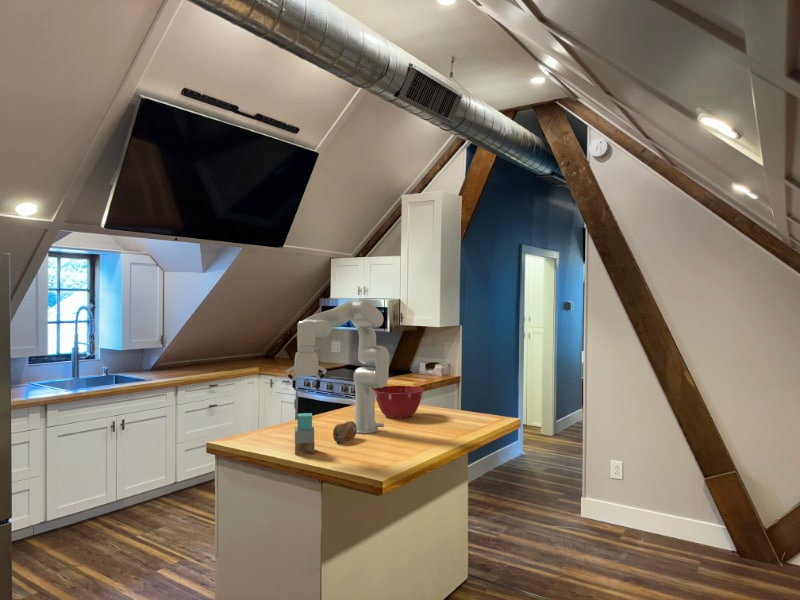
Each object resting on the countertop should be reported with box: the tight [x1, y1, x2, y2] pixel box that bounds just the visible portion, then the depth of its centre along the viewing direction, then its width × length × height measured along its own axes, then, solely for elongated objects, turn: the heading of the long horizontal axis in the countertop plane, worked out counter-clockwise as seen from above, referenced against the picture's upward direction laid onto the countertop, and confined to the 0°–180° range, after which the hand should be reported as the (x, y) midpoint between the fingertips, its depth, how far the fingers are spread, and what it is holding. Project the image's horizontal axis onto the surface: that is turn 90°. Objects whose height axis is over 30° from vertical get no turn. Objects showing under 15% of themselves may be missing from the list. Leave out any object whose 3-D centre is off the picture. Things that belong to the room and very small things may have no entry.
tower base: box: [294, 441, 316, 456], centre depth 240 cm, size 8×8×5 cm
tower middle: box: [294, 426, 315, 444], centre depth 240 cm, size 8×8×5 cm
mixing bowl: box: [373, 385, 424, 419], centre depth 317 cm, size 28×28×16 cm
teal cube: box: [297, 412, 313, 431], centre depth 240 cm, size 6×6×6 cm
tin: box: [332, 421, 357, 444], centre depth 261 cm, size 15×3×8 cm, turn 148°
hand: (306, 389), depth 242 cm, fingers open, 9 cm apart
